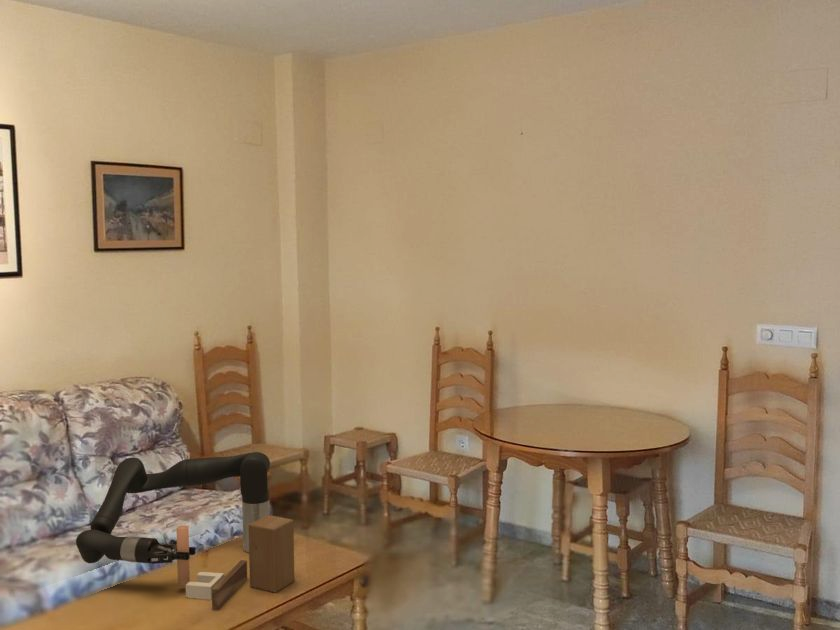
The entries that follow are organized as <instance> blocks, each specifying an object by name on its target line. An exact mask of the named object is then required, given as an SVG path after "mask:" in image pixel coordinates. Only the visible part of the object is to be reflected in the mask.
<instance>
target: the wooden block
mask: <svg viewBox="0 0 840 630" xmlns="http://www.w3.org/2000/svg"><path fill="white" fill-rule="evenodd" d="M294 533H295V531H294V519H291V518H285V517H281V516H275V515H272V514H271V515H267V516H265V517H263V518H261V519H259V520H257V521H255V522H253V523H251V524H249V552H248V554H249V555H248V558H249V559H248V560H249V563H248V564H249V587H251V588H254V589H258V590H262V591H266V592H271V593H277V592H279V591H280V590H282V589H284V588H286V587H287V586H289V585H290V584H292V583H294V582H295V542H294V541H295V540H294V539H295V538H294V535H295V534H294Z"/></svg>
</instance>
